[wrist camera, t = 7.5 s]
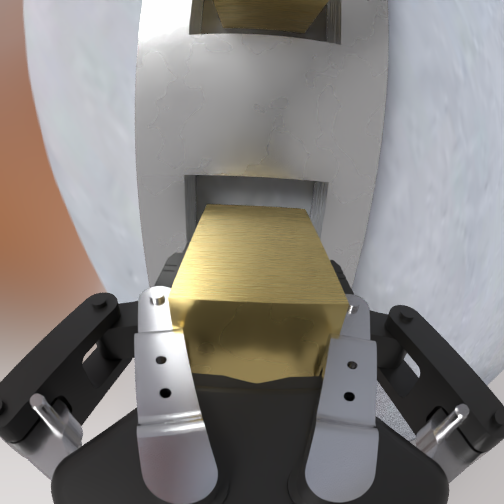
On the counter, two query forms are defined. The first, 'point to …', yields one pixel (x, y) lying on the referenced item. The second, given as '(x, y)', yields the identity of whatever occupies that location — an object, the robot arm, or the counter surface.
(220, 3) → the seated brass block
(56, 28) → the counter surface
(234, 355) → the brass block
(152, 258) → the white socket board
